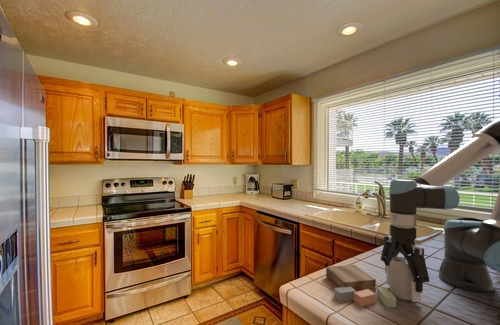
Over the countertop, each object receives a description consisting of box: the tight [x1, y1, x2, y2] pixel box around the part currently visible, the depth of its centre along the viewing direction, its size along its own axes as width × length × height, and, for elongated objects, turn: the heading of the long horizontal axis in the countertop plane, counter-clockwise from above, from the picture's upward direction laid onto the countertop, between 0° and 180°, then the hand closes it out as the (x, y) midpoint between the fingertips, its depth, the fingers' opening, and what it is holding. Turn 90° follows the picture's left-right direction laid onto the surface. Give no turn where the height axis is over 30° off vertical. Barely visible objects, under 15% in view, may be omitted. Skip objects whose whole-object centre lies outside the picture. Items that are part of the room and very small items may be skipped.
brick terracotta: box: [353, 289, 377, 307], centre depth 74 cm, size 6×3×3 cm, turn 111°
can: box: [389, 256, 414, 302], centre depth 78 cm, size 8×8×12 cm
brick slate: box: [333, 286, 356, 303], centre depth 76 cm, size 6×3×3 cm, turn 103°
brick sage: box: [376, 286, 397, 308], centre depth 75 cm, size 6×3×3 cm, turn 176°
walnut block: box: [325, 264, 377, 292], centre depth 86 cm, size 12×12×4 cm
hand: (402, 291), depth 78 cm, fingers open, 10 cm apart
